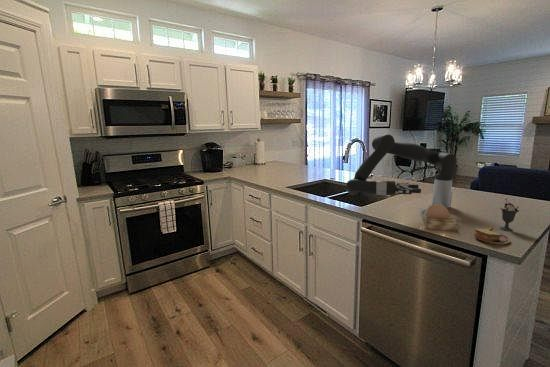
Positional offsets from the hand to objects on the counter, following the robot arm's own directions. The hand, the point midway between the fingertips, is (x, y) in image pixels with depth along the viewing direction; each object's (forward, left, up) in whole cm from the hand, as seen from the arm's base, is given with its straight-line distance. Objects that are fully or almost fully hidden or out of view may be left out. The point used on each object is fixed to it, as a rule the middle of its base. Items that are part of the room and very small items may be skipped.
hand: (419, 188), depth 138 cm
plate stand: (-14, -4, -18) cm, 24 cm away
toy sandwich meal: (-15, +27, -19) cm, 36 cm away
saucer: (-7, +5, -13) cm, 15 cm away
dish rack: (-8, +6, -18) cm, 21 cm away
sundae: (-33, +21, -19) cm, 43 cm away
